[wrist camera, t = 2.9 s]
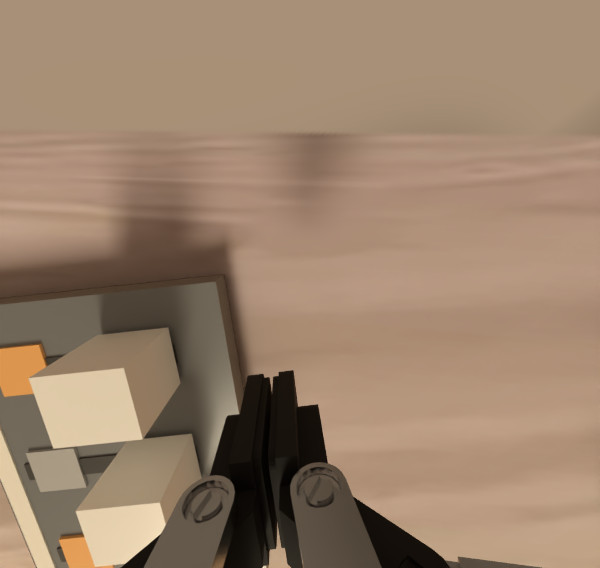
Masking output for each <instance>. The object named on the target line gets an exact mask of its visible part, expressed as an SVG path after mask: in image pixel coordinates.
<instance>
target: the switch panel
mask: <svg viewBox="0 0 600 568" xmlns="http://www.w3.org/2000/svg"><path fill="white" fill-rule="evenodd" d="M159 328H168V329H169V334H170V338H171V343H172V347H173V352H174V356H175V361H176V365H177V370H178V374H179V379H180V385H179V386H178V388H177V389H176V391H175V392H174V394H173V395H172V397H171V398H170V400H169V401H168V403H167V404H166V406H165V407H164V409H163V410H162V412H161V413H160V415H159V416H158V418H157V419H156V421H155V422H154V423H153V425H152V426H151V428H150V429H149V431H148V432H147V434H146V435H145V437H144V438H143V439H146V438H155V437H165V436H175V435H184V434H192V437H193V442H194V446H195V451H196V455H197V460H198V464H199V469H200V473H201V478H205V477H207V476H210V473H211V469H212V466H213V462H214V459H215V455H216V452H217V448H218V444H219V441H220V437H221V434H222V430H223V427H224V423H225V420H226V417H227V416H228V415H235V414H240V410H241V405H242V401H243V396H244V390H243V384H242V378H241V372H240V366H239V360H238V354H237V348H236V343H235V337H234V331H233V325H232V319H231V313H230V307H229V301H228V295H227V289H226V283H225V277H224V274H223V275H214V276H205V277H195V278H186V279H177V280H167V281H158V282H149V283H140V284H130V285H121V286H112V287H102V288H93V289H84V290H74V291H65V292H56V293H47V294H37V295H28V296H19V297H9V298H0V482H1V485H2V487H3V489H4V492H5V494H6V497H7V499H8V501H9V504H10V506H11V509H12V511H13V513H14V516H15V518H16V521H17V523H18V525H19V528H20V530H21V533H22V535H23V538H24V540H25V542H26V545H27V547H28V550H29V552H30V554H31V557H32V559H33V562H34V564H35V566H36V568H121V567H122V566H123V565H124V564H119V565H109V566H99V567H95V565H94V562H93V559H92V557H91V554H90V551H89V548H88V545H87V542H86V540H85V537H84V534H83V531H82V528H81V526H80V523H79V520H78V517H77V514H76V510H77V508H78V507H79V506H80V504H81V503H82V502H83V500H84V499H85V497H86V496H87V495H88V493H89V492H90V491H91V489H92V488H93V487H94V485H95V484H96V482H97V481H98V480H99V478H100V477H101V476H102V474H103V473H104V472H105V470H106V469H107V467H108V466H109V465H110V463H111V462H112V461H113V459H114V458H115V457H116V455H117V454H118V452H119V451H120V450H121V448H122V447H123V446H124V444H125V443H126V442H127V441H123V442H113V443H103V444H94V445H84V446H75V447H65V448H55V449H53V446H52V443H51V441H50V438H49V435H48V432H47V429H46V426H45V424H44V421H43V418H42V415H41V412H40V409H39V407H38V404H37V401H36V398H35V395H34V393H33V390H32V387H31V384H30V381H29V377H31V376H32V375H34V374H36V373H37V372H39V371H41V370H42V369H44V368H45V367H47V366H49V365H50V364H52V363H53V362H55V361H57V360H58V359H60V358H61V357H63V356H65V355H66V354H68V353H69V352H71V351H73V350H74V349H76V348H77V347H79V346H81V345H82V344H84V343H85V342H87V341H89V340H90V339H92V338H93V337H95V336H97V335H102V334H112V333H121V332H130V331H140V330H149V329H159ZM263 568H268V565H266V566H263Z"/></svg>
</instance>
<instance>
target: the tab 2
mask: <svg viewBox="0 0 600 568" xmlns="http://www.w3.org/2000/svg"><path fill="white" fill-rule="evenodd" d="M200 479H202V478H201V473H200V469H199V464H198V460H197V455H196V451H195V446H194V442H193V437H192V434H184V435H175V436H165V437H155V438H146V439H142V440H132V441H127V442H126V443H125V444H124V446H123V447H122V448H121V450H120V451H119V452H118V454H117V455H116V457H115V458H114V459H113V461H112V462H111V463H110V465H109V466H108V467H107V469H106V470H105V472H104V473H103V474H102V476H101V477H100V478H99V480H98V481H97V482H96V484H95V485H94V487H93V488H92V489H91V491H90V492H89V493H88V495H87V496H86V497H85V499H84V500H83V502H82V503H81V504H80V506H79V507H78V508H77V510H76V514H77V517H78V520H79V523H80V526H81V528H82V531H83V534H84V537H85V540H86V542H87V545H88V548H89V551H90V554H91V557H92V559H93V562H94V565H95V567H99V566H109V565H119V564H125V563H127V562H128V561H129V560H130V559H131V558H133V557H134V556H135V555H136V554H137V553H139V552H140V551H141V550H142V549H143V548H145V547H146V546H147V545H148V544H149V543H150V542H152V541H153V540H154V539H155V538H156V537H158V536H159V535H160V534H161V533H162V531H163V529H164V527H165V525H166V523H167V522H168V520H169V518H170V516H171V514H172V512H173V510H174V508H175V506H176V504H177V502H178V500H179V499H180V497H181V496H182V494H183V493H184V491H185V490H186V489H187V488H189V487H190V486H191V485H192V484H193V483H195V482H196V481H198V480H200Z"/></svg>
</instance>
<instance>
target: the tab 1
mask: <svg viewBox="0 0 600 568" xmlns="http://www.w3.org/2000/svg"><path fill="white" fill-rule="evenodd" d="M29 381H30V384H31V387H32V390H33V393H34V395H35V398H36V401H37V404H38V407H39V409H40V412H41V415H42V418H43V421H44V424H45V426H46V429H47V432H48V435H49V438H50V441H51V443H52V446H53V449H55V448H65V447H75V446H84V445H94V444H103V443H113V442H123V441H132V440H142V439H143V438H144V437H145V435H146V434H147V432H148V431H149V429H150V428H151V426H152V425H153V423H154V422H155V421H156V419H157V418H158V416H159V415H160V413H161V412H162V410H163V409H164V407H165V406H166V404H167V403H168V401H169V400H170V398H171V397H172V395H173V394H174V392H175V391H176V389H177V388H178V386H179V385H180V379H179V374H178V370H177V365H176V361H175V356H174V352H173V347H172V343H171V338H170V334H169V329H168V328H159V329H149V330H140V331H130V332H121V333H112V334H102V335H97V336H95V337H93V338H92V339H90V340H89V341H87V342H85V343H84V344H82V345H81V346H79V347H77V348H76V349H74V350H73V351H71V352H69V353H68V354H66V355H65V356H63V357H61V358H60V359H58V360H57V361H55V362H53V363H52V364H50V365H49V366H47V367H45V368H44V369H42V370H41V371H39V372H37V373H36V374H34V375H32V376H31V377H29Z"/></svg>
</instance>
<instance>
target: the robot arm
mask: <svg viewBox="0 0 600 568" xmlns="http://www.w3.org/2000/svg"><path fill="white" fill-rule="evenodd" d="M277 522H278V528H279V534H280V541H281V547H282V548H285V551H286V557H287V563H288V565H289V566H290V567H291V568H540V567H533V566H525V565H518V564H510V563H503V562H495V561H487V560H480V559H472V558H465V557H458V562H452V561H445V560H444V559H443V558H442V557H441V556H440V555H439V554H437V553H436V552H435V551H434V550H433V549H431V548H430V547H428V546H427V545H425V544H424V543H422V542H421V541H419V540H418V539H416V538H415V537H413V536H412V535H410V534H409V533H407V532H405V531H404V530H402V529H401V528H399V527H398V526H396V525H395V524H393V523H392V522H390V521H389V520H387V519H386V518H384V517H383V516H381V515H380V514H378V513H377V512H375V511H374V510H372V509H371V508H369V507H368V506H366V505H365V504H363V503H362V502H360V501H359V500H357V499H356V498H354V497H353V496H352V493H351V491H350V488H349V486H348V483H347V481H346V478H345V477H344V475H343V473H342V472H341V471H340V470H339V469H338V468H337V467H335V466H333V465H331V464H328V462H327V456H326V450H325V444H324V438H323V432H322V426H321V420H320V414H319V408H318V404H317V405H309V406H301V407H298V403H297V395H296V387H295V379H294V372H293V370H292V371H284V372H279V376H275V377H273V389H272V391H271V384H270V378H269V377H267V378H264V375H263V374H259V375H250V376H248V378H247V383H246V387H245V392H244V396H243V401H242V405H241V410H240V414H235V415H228V416H227V417H226V420H225V423H224V427H223V430H222V434H221V437H220V441H219V444H218V448H217V452H216V455H215V459H214V462H213V466H212V469H211V473H210V476H207V477H205V478H202V479H200V480H198V481H196V482H195V483H193V484H192V485H191V486H190V487H189V488H187V489H186V490H185V491H184V493H183V494H182V496H181V497H180V499H179V500H178V502H177V504H176V506H175V508H174V510H173V512H172V514H171V516H170V518H169V520H168V522H167V523H166V525H165V527H164V529H163V531H162V533H161V534H160V535H159V536H158V537H156V538H155V539H154V540H153V541H152V542H150V543H149V544H148V545H147V546H146V547H145V548H143V549H142V550H141V551H140V552H139V553H137V554H136V555H135V556H134V557H133V558H131V559H130V560H129V561H128V562H127V563H125V564H124V565H123V566H122V567H121V568H263V566H266V565H269V551H270V549H276V544H277Z"/></svg>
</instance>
